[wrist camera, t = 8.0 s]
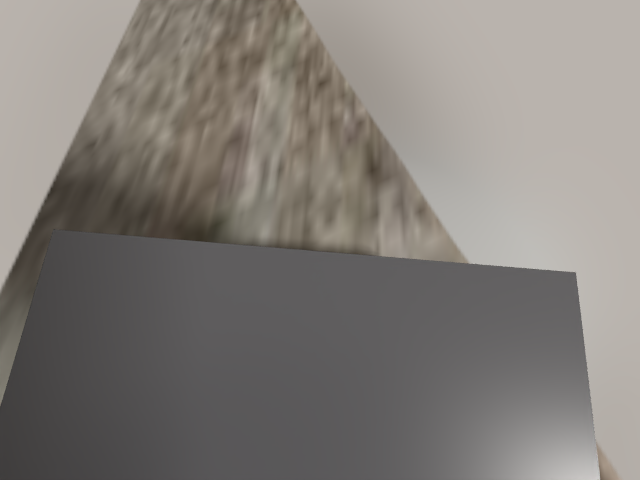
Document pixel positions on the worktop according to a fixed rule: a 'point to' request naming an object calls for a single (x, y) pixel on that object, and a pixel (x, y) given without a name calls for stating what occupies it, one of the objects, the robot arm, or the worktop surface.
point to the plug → (293, 367)
